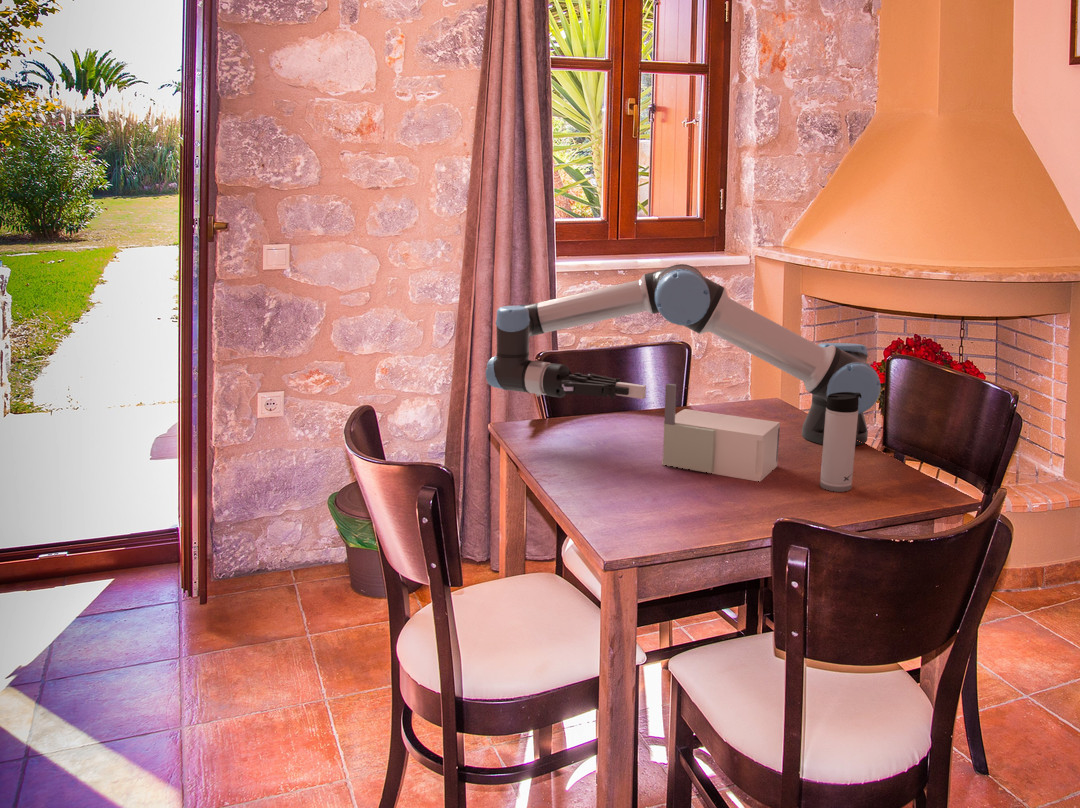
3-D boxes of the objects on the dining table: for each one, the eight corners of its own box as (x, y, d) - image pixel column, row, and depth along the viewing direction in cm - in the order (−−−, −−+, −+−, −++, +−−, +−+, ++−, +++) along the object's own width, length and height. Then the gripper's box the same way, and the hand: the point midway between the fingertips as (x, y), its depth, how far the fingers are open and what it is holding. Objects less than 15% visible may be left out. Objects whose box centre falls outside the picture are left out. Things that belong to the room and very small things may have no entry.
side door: (662, 464, 217) (665, 384, 212) (664, 463, 218) (667, 383, 213) (711, 472, 212) (715, 390, 207) (712, 471, 212) (717, 389, 208)
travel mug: (854, 493, 201) (863, 397, 196) (820, 491, 203) (828, 395, 198) (851, 483, 207) (859, 390, 202) (818, 481, 208) (826, 388, 203)
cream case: (662, 465, 218) (663, 421, 216) (682, 451, 229) (684, 408, 226) (760, 481, 208) (762, 435, 205) (777, 466, 218) (780, 422, 216)
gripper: (562, 389, 234) (655, 402, 222) (534, 401, 223) (631, 415, 211) (563, 358, 232) (657, 369, 220) (534, 368, 221) (632, 381, 209)
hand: (644, 392), depth 216 cm, fingers closed
